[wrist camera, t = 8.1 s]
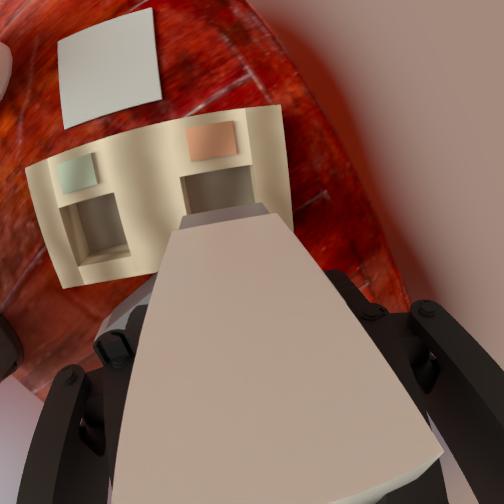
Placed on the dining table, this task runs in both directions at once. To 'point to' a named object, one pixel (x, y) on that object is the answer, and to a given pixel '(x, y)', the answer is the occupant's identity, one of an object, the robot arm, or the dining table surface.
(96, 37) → the mat
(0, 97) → the vase
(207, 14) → the dining table surface
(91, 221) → the socket box
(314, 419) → the plug
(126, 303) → the plug
